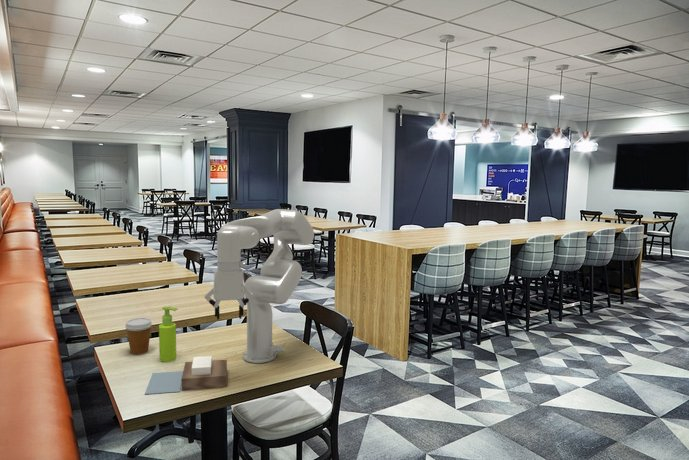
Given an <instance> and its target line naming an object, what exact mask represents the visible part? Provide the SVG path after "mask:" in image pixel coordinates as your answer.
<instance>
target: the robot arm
mask: <svg viewBox="0 0 689 460" xmlns="http://www.w3.org/2000/svg"><path fill="white" fill-rule="evenodd" d="M314 231H315V230H314V228H313V226H312V224H311V223H310V222H309V221H308V219H307V218H306V217H305V215H304V214H303V213H302V212H300V211H299V210H297V209H285V208H276V209H272V210H271V211H268V212H265V213H263V214H260V215H257V216H251V217H246V218H241V219H235V220H232V221H230V222H227V223H225V224H223V225H222V226H220V228H219V230H218V231H217V234H216V235H217V236H216V243H217V246H216V247H217V248H216V249H217V250H216V252H217V253H216V255H217V257H216V258H217V259H216V260H217V261H216V262H217V263H216V265H217V267H216V269H215V270H214V276H213V288H212V289H210V291H208V292H207V293H206V294H205V295H204V299H205V300H206V301H207V302H208V303H209V304H210V305H211V306H212V307H213V308H214V317H216V320H217V321H218V320H220V305H219V304H220V302H221V301H238V303H239V305H238V318H239V319H240V320H241V319H242V316H244V307H245V306H246V350H245V351H244V352H243V353H242V359H243V360H244V361H246V362H248V363H254V364H261V363H262V364H264V363H268V362H271V361H273V360H274V359H276V357H277V353H285V346H281V345H280V344H279V345H278V344H277V345H274V344H273V314H274V313H273V308H272V306H271V304H274V305H285V304H286V303H287V302H288V301H289V299H290V297H291V296H292V294H293V293H294V291H295V290H296V288H297V287H298V284H299V283H300V281H301V280H302V279H301V278H302V274H303V270H302V265H301V264H300V262H298V261H296V260H293V259H294V255H293V253H292V250H291V248H290V246H289V244H290V245H299V246H309V245H310V244H312V242H313V241H314V237H315V232H314ZM272 236H273V250H272V252H271V254H270V255H269V257H268V258H267V259H266V261H265V262H264V263H263V265H262V267H261V269H260V275H252V276H249V277H248V278H247V279H246V280H245V274H244V270H243V267H246V262H243V261H241V250H243V249H244V250H245V249H247V250H249V249H252V248H254V247H256V246H257V245H258V244H259V242H260V239H266V238H269V237H272ZM212 296H213V298H212Z"/></svg>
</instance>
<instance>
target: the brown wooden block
mask: <svg viewBox="0 0 689 460" xmlns="http://www.w3.org/2000/svg"><path fill="white" fill-rule="evenodd" d="M192 364H193V361H185V363H184V366H183V370H182V371H183V375H182V379H181V381H182V384H181V391H193V390H206V389H207V390H208V389H220V388H227V379H228V378H227V377H228V375H227V374H228V373H227V372H228V361H227V359H214V360H213V359H212V367H211V374H206V375H192Z"/></svg>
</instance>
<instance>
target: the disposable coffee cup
mask: <svg viewBox="0 0 689 460" xmlns="http://www.w3.org/2000/svg"><path fill="white" fill-rule="evenodd" d="M152 325H153V322H152V321H151V318H147V317H137V318H131V319H129V320H127V321H126V324H125V325H124V327H125V330H126V334H127V338H128V345H129V350H130V353H131V354H132V355H138V356H139V355H143V354H146V353H148V352H149V348H150V339H151V330H152V329H151V328H152Z"/></svg>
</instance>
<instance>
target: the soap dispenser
mask: <svg viewBox="0 0 689 460" xmlns="http://www.w3.org/2000/svg"><path fill="white" fill-rule="evenodd" d="M161 310H164V315H162V318H161V321H162V323H160V324H159V325H158V340H159V345H158V347H159V361H160V362H162V363H170V362H174V361H176V360H177V324H176V323H175V322H173V315H172V314H170V311H174V312H176V311H177V310H179V308H177V307H174V306H164V307H162V308H161Z"/></svg>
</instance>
